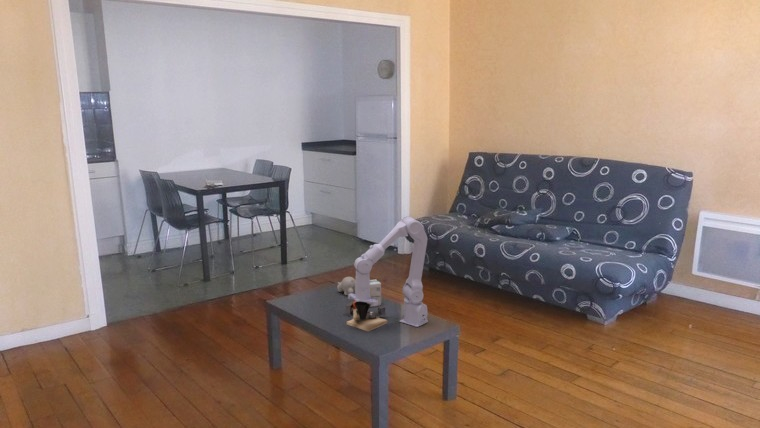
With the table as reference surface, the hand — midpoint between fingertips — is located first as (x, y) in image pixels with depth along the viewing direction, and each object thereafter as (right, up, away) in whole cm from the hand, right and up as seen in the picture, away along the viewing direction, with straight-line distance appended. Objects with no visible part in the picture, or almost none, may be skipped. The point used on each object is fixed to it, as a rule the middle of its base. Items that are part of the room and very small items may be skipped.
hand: (362, 319), depth 232 cm
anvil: (-6, -1, +16) cm, 17 cm away
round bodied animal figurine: (-9, +4, +43) cm, 44 cm away
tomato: (-2, -1, +16) cm, 16 cm away
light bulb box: (+1, +1, +27) cm, 27 cm away
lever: (+2, -1, +7) cm, 7 cm away
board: (+2, -3, +4) cm, 5 cm away
